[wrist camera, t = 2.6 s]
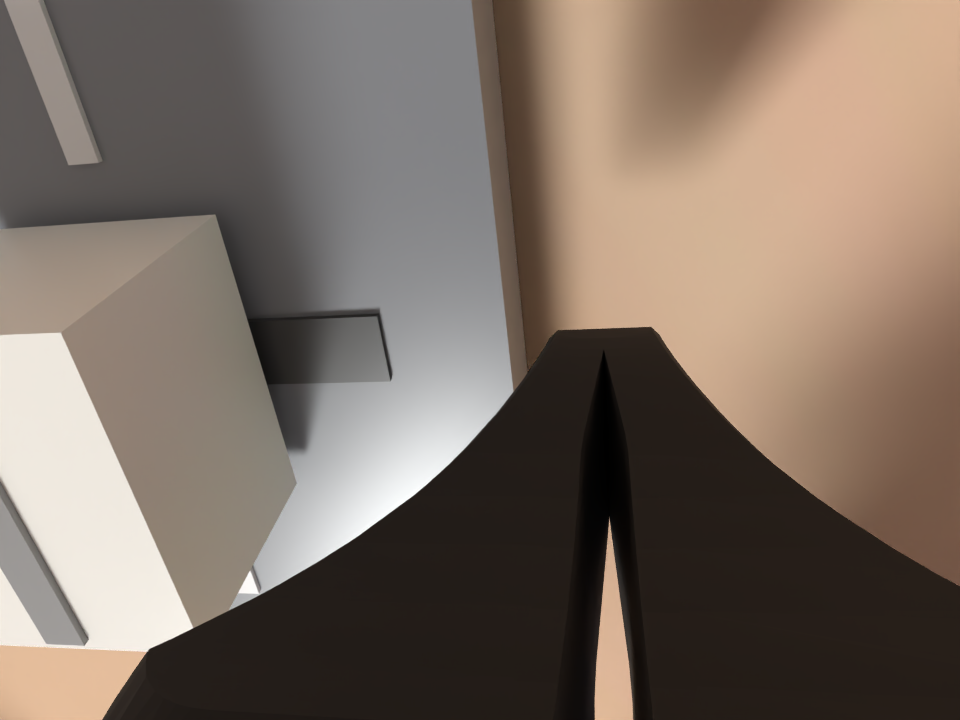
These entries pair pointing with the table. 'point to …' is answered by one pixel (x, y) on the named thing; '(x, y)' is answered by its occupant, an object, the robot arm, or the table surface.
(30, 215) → the console board
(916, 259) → the table surface
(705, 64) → the table surface
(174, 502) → the fader tab
